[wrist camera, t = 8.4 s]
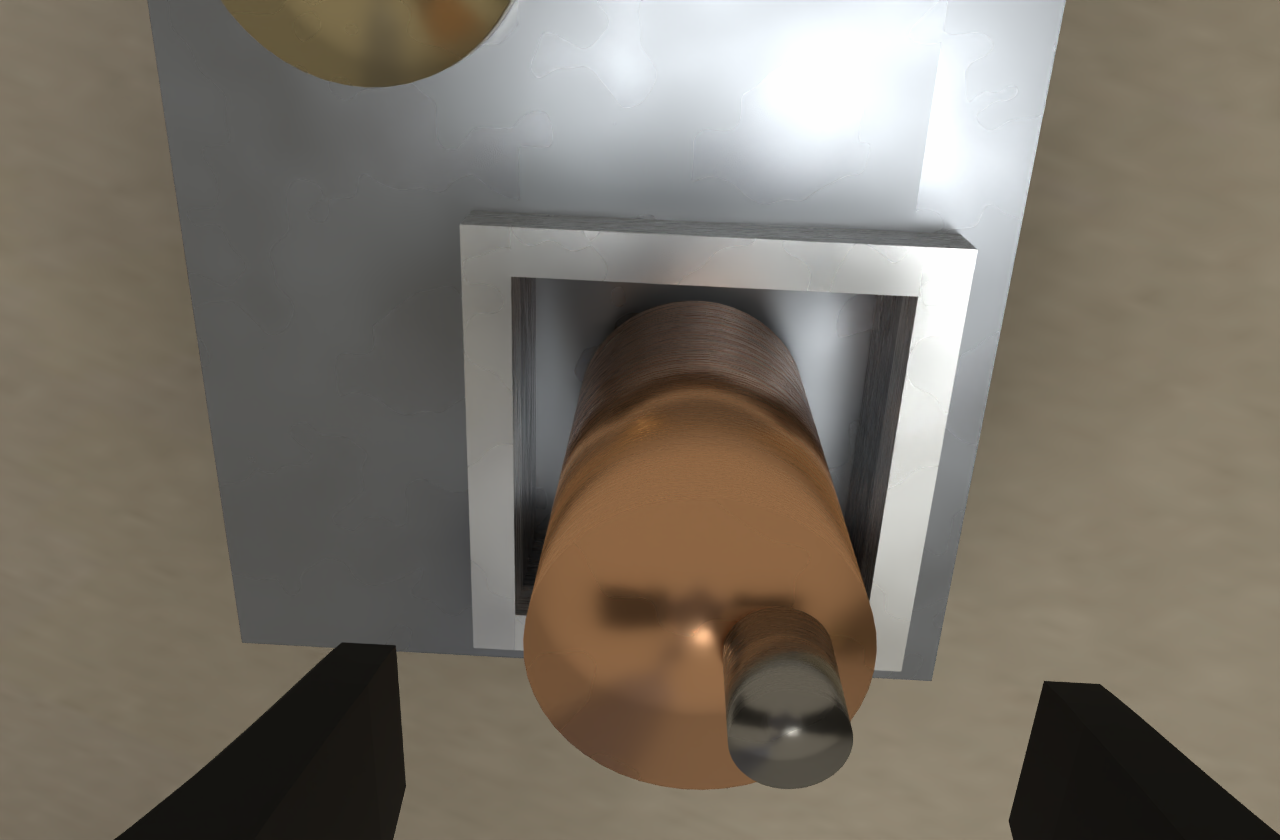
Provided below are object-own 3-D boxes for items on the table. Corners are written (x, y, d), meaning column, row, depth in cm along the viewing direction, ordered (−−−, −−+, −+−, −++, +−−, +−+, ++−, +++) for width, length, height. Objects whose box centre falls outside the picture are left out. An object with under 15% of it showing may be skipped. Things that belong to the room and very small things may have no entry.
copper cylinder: (587, 509, 21) (523, 888, 12) (571, 304, 19) (481, 577, 10) (802, 503, 21) (892, 885, 12) (806, 295, 19) (914, 567, 10)
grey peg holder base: (286, 575, 23) (221, 673, 19) (164, -422, 15) (29, -527, 12) (906, 608, 22) (943, 714, 19) (1082, -387, 15) (1191, -485, 12)
